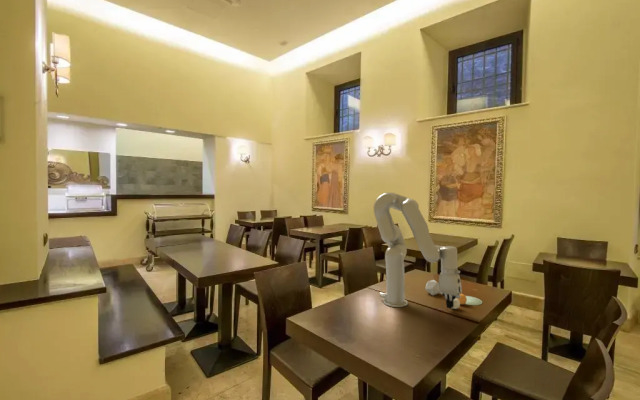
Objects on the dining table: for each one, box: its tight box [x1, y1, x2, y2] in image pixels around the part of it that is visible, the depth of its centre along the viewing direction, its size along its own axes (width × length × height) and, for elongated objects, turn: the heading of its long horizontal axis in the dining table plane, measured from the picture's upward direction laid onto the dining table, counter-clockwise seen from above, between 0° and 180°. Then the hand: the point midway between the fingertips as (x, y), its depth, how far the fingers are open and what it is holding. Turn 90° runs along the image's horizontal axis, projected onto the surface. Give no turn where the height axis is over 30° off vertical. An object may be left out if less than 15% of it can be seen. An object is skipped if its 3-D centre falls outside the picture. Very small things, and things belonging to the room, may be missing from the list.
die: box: [424, 279, 440, 296], centre depth 177 cm, size 8×9×10 cm
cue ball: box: [451, 298, 461, 310], centre depth 154 cm, size 6×6×6 cm
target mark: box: [464, 295, 483, 306], centre depth 165 cm, size 14×14×1 cm
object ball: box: [457, 293, 467, 305], centre depth 160 cm, size 6×6×6 cm
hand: (449, 307), depth 151 cm, fingers closed
